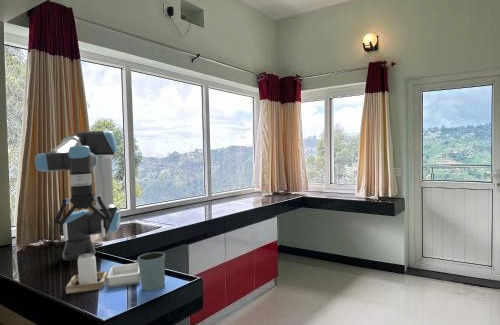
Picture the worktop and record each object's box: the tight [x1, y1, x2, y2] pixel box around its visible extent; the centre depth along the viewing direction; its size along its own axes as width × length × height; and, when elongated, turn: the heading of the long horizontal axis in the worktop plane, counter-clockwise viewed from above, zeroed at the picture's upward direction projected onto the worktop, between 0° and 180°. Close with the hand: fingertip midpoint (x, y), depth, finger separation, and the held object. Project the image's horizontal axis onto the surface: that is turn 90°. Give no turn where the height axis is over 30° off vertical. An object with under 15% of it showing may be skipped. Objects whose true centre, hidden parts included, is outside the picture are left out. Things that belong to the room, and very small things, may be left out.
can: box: [77, 253, 98, 285], centre depth 133 cm, size 6×6×12 cm
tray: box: [106, 262, 141, 289], centre depth 137 cm, size 14×12×4 cm
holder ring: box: [65, 270, 109, 295], centre depth 133 cm, size 13×13×2 cm
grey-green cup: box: [137, 251, 166, 292], centre depth 128 cm, size 10×10×12 cm
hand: (85, 238), depth 132 cm, fingers open, 13 cm apart
